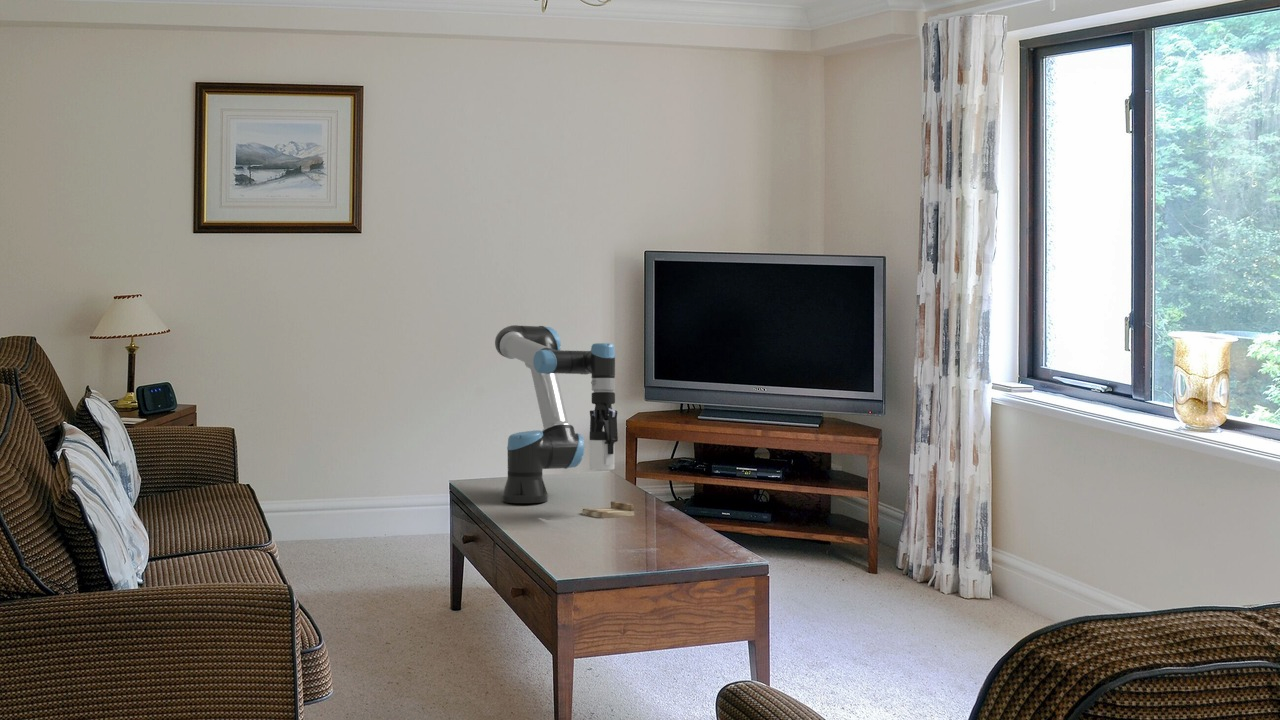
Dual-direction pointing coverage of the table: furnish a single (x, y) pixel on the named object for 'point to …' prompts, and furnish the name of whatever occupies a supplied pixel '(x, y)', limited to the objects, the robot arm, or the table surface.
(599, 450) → the jar
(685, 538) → the table surface
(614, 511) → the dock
